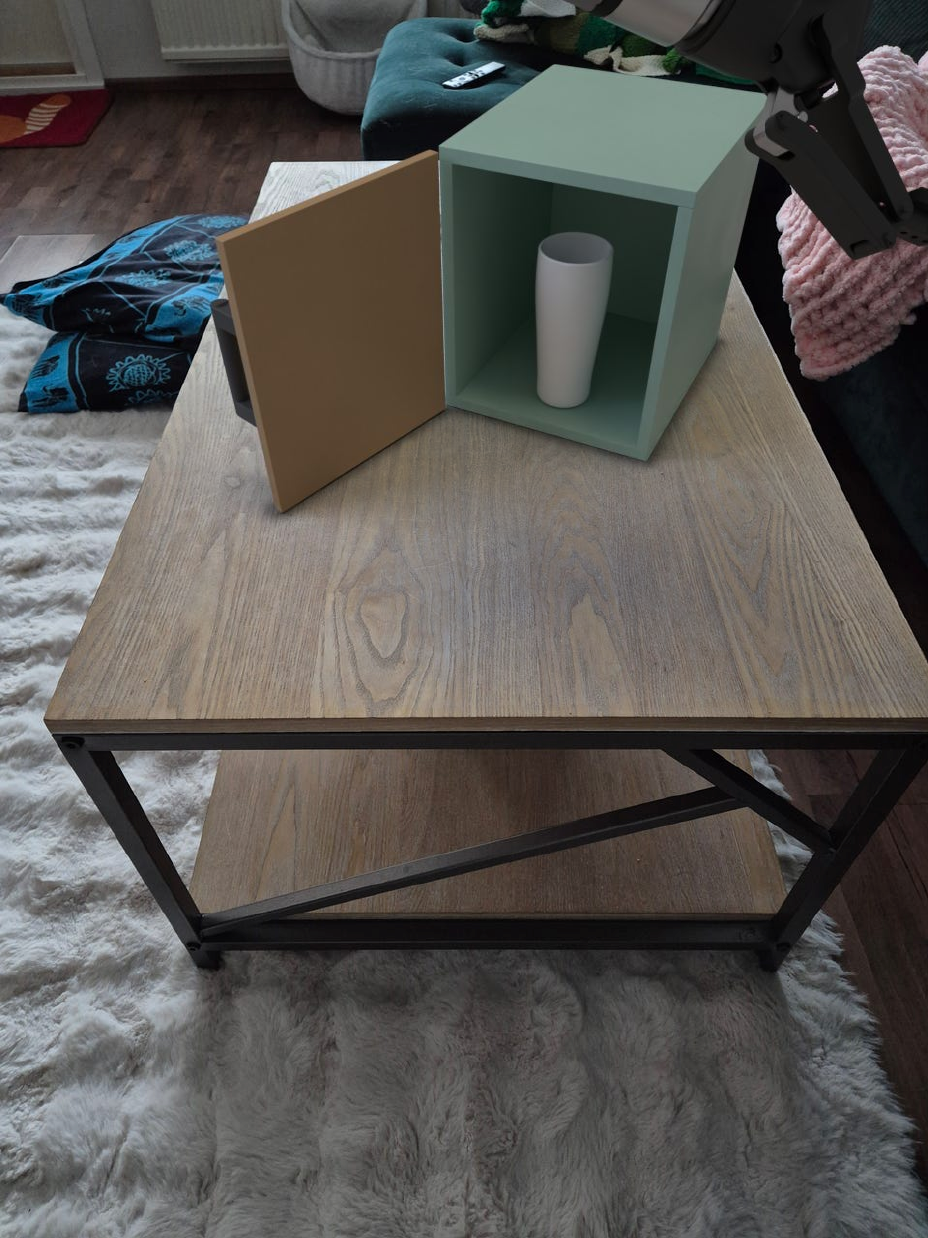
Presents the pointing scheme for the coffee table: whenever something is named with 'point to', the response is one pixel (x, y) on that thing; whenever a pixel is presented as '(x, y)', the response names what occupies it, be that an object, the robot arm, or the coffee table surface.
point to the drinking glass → (570, 313)
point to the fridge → (607, 207)
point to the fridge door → (336, 324)
